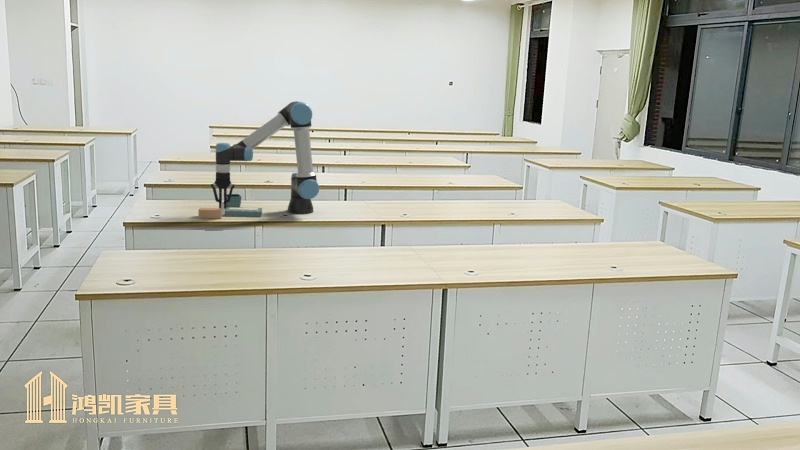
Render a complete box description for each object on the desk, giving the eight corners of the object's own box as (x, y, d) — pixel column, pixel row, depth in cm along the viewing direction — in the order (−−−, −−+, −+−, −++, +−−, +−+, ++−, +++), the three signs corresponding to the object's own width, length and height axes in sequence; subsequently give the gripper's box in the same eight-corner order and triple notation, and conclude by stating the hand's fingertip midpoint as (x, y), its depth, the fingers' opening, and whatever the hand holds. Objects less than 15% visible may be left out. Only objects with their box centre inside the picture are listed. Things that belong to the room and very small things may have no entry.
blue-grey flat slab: (262, 213, 388) (262, 207, 388) (260, 217, 378) (261, 211, 377) (219, 212, 385) (219, 206, 384) (216, 215, 374) (216, 210, 373)
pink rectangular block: (222, 216, 374) (222, 207, 373) (221, 218, 368) (221, 209, 367) (200, 215, 372) (200, 207, 371) (198, 217, 366) (198, 209, 365)
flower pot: (223, 209, 393) (223, 194, 391) (238, 208, 397) (238, 193, 395) (226, 212, 385) (226, 196, 384) (241, 211, 389) (241, 196, 387)
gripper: (235, 171, 369) (235, 213, 374) (211, 170, 367) (211, 212, 372) (234, 173, 362) (234, 216, 367) (209, 172, 360) (209, 215, 365)
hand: (222, 214), depth 369 cm, fingers closed
